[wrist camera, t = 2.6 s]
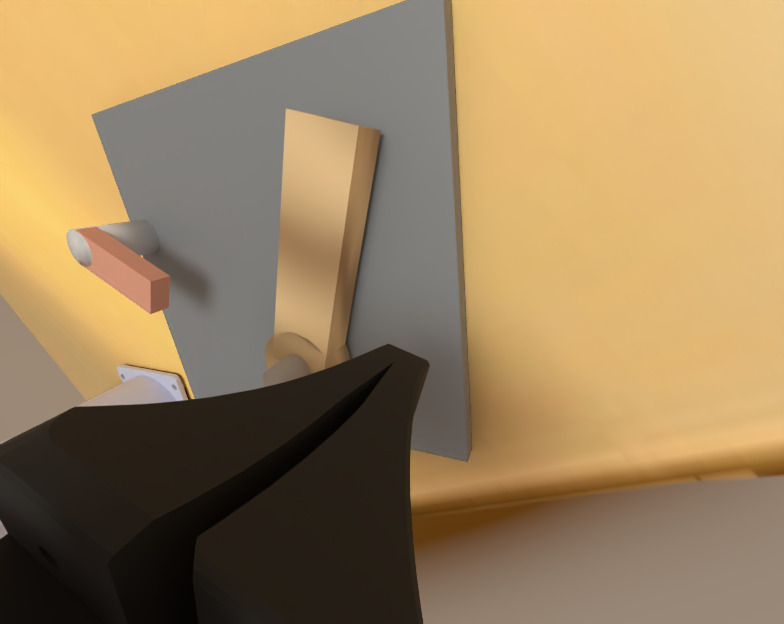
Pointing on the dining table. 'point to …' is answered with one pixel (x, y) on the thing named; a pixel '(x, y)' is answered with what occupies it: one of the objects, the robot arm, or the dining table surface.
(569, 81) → the dining table surface
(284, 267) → the oak link
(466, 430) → the board
